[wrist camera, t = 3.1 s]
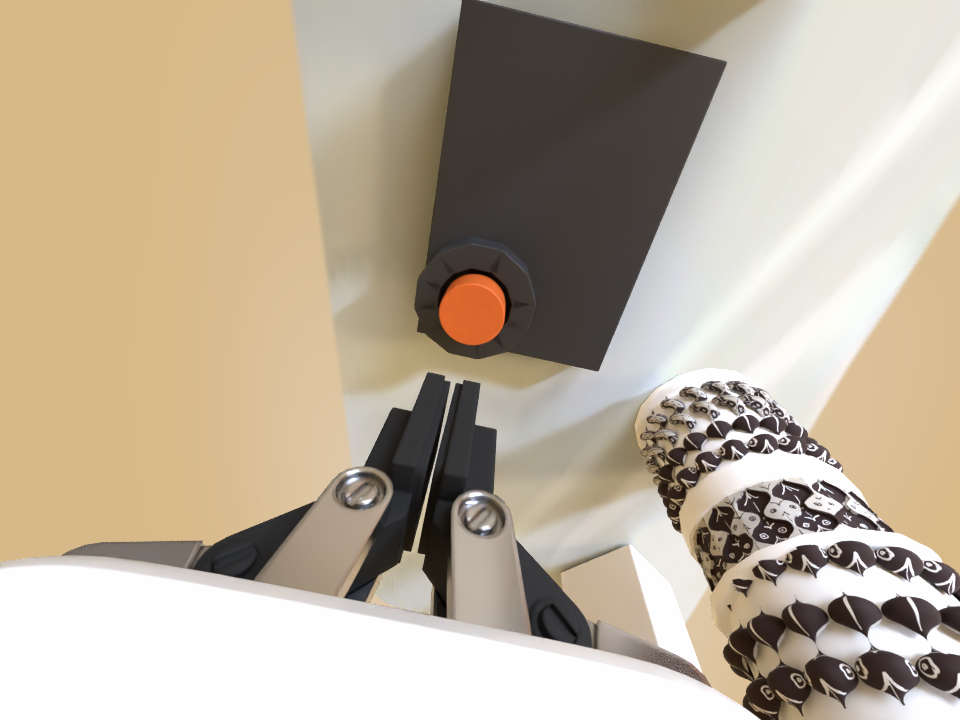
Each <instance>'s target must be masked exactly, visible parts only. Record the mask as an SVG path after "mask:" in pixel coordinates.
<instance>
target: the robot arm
mask: <svg viewBox="0 0 960 720" xmlns="http://www.w3.org/2000/svg"><path fill="white" fill-rule="evenodd" d="M444 379H445V376H443V375H439V374H434V373H429V372H428V373H427V375H426V377H425V380H424V382H423V385H422V387H421V390H420V393H419V395H418V398H417V400H416V403H415V405H414V408H413V410H412V411H408V410H403V409H398V408H392V410H391V411H390V413H389V415H388V418H387V420H386V422H385V424H384V426H383V428H382V430H381V432H380V434H379V436H378V438H377V440H376V442H375V445H374V447H373V449H372V451H371V453H370V455H369V457H368V459H367V461H366V463H365V465H364V467H354V468H350V469H347V470H345V471H343V472H341V473H339V474H338V475H337V476H336V477H335V478H334V479H333V480H332V481H331V483H330V484H329V485H328V486H327V488H326V489H325V490H324V491H323V493H322V494H321V495H320V497H319V498H318V499H317V500H316V501H315V502H312V503H310V504H307V505H305V506H302V507H300V508H298V509H295V510H292V511H290V512H288V513H285V514H283V515H280V516H278V517H275V518H273V519H270V520H268V521H265V522H263V523H260V524H258V525H256V526H253V527H251V528H248V529H246V530H243V531H241V532H238V533H236V534H234V535H231V536H229V537H226V538H225V539H223V540H221V541H219V542H217V543H215V544H214V545H213V546H203V541H152V542H101V543H94V544H88V545H84V546H81V547H78V548H76V549H73V550H70V551H68V552H66V553H65V554H63V555H61V556H46V557H33V558H25V559H19V560H11V561H4V562H0V720H760V719H759V718H758V717H756V716H755V715H754V714H752V713H751V712H750V711H748V710H747V709H746V708H744V707H742V706H741V705H739V704H738V703H736V702H734V701H733V700H731V699H730V698H728V697H727V696H725V695H723V694H722V693H720V692H718V691H717V690H715V689H713V688H712V687H711V686H710V684H709V682H708V681H707V679H706V678H705V676H704V675H703V674H702V673H701V672H700V671H699V670H698V669H697V668H696V667H695V666H694V665H693V664H692V663H690V662H689V661H687V660H686V659H684V658H683V657H681V656H679V655H676V654H674V653H672V652H670V651H668V650H665V649H663V648H661V647H659V646H656V645H654V644H652V643H650V642H647V641H645V640H643V639H641V638H639V637H636V636H634V635H632V634H630V633H627V632H625V631H623V630H621V629H619V628H616V627H614V626H612V625H610V624H607V623H605V622H603V621H601V620H597V622H596V624H595V623H593V622H591V621H589V620H587V619H586V618H585V616H584V615H583V614H582V612H581V611H580V609H579V608H578V607H577V606H576V604H575V603H574V602H573V601H572V600H571V599H570V598H569V597H568V596H567V595H566V594H565V592H564V591H563V590H562V589H561V588H560V587H559V586H558V585H557V584H556V583H555V581H554V580H553V579H552V578H551V577H550V576H549V575H548V574H547V573H546V572H545V570H544V569H543V568H542V567H541V566H540V565H539V564H538V563H537V562H536V561H535V560H534V558H533V557H532V556H531V555H530V554H529V553H528V552H527V551H526V550H525V549H524V547H523V546H522V545H521V544H520V543H519V542H518V541H517V540H516V538H515V532H514V527H513V521H512V516H511V513H510V510H509V508H508V506H507V505H506V504H505V502H504V501H503V500H502V499H500V498H499V497H498V496H496V495H494V494H493V490H494V472H495V454H496V437H497V430H496V429H492V428H487V427H483V426H478V425H475V420H476V412H477V405H478V398H479V391H480V383H476V382H471V381H466V380H464V381H463V384H459V383H456V385H455V389H454V393H453V397H452V401H451V405H450V409H449V413H448V417H447V421H446V425H445V429H444V433H443V437H442V441H441V445H440V449H439V453H438V457H437V460H436V465H435V469H434V473H433V478H432V483H431V488H430V493H429V498H428V503H427V508H426V513H425V518H424V523H423V528H422V533H421V538H420V543H419V548H418V553H420V554H425V559H424V564H423V569H422V570H423V571H424V573H425V574H426V576H427V577H428V579H429V580H430V582H431V583H432V585H433V586H432V591H431V612H430V615H427V614H422V613H417V612H412V611H407V610H401V609H396V608H391V607H386V606H381V605H376V604H371V603H370V601H371V599H372V597H373V595H374V593H375V591H376V589H377V587H378V585H379V583H380V579H381V576H382V573H384V572H385V571H387V570H389V569H390V568H392V567H394V566H395V565H397V563H400V561H401V557H402V554H403V550H405V551H410V552H411V550H412V546H413V542H414V539H415V535H416V531H417V527H418V523H419V519H420V515H421V511H422V507H423V504H424V500H425V496H426V492H427V488H428V484H429V480H430V476H431V472H432V469H433V465H434V461H435V457H436V453H437V448H438V443H439V438H440V433H441V428H442V423H443V418H444V413H445V408H446V403H447V398H448V393H449V388H450V382H449V381H445V380H444Z"/></svg>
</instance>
